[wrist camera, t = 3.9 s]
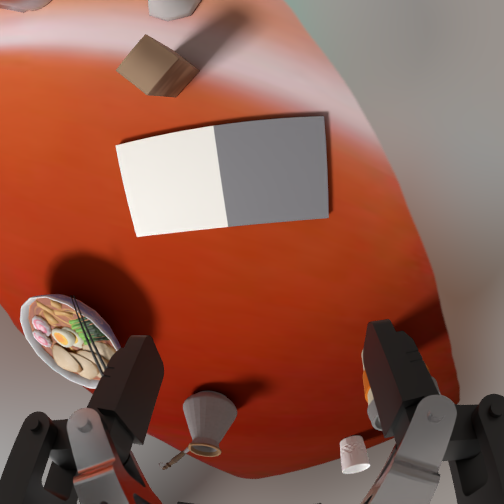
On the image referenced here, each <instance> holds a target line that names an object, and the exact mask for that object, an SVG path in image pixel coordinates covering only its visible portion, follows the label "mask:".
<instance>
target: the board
mask: <svg viewBox="0 0 504 504" xmlns="http://www.w3.org/2000/svg"><path fill="white" fill-rule="evenodd" d="M116 151H117V156H118V161H119V166H120V170H121V175H122V179H123V184H124V188H125V193H126V197H127V201H128V205H129V209H130V213H131V217H132V221H133V224H134V228H135V232H136V235H137V237H140V236H148V235H157V234H165V233H174V232H183V231H192V230H202V229H211V228H221V227H231V226H241V225H251V224H262V223H273V222H284V221H296V220H308V219H320V218H329V213H328V176H327V154H326V138H325V123H324V116H309V117H290V118H276V119H265V120H254V121H245V122H236V123H229V124H221V125H214V126H207V127H201V128H195V129H189V130H183V131H178V132H173V133H168V134H163V135H158V136H153V137H149V138H144V139H140V140H135V141H131V142H127V143H123V144H119V145H116Z"/></svg>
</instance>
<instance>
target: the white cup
mask: <svg viewBox="0 0 504 504" xmlns="http://www.w3.org/2000/svg"><path fill="white" fill-rule="evenodd" d="M340 453H341V464H342V473H344V474H352V473H357V472H360V471H363V470H365V469H367V468H369V467H370V462H369V458H368V454H367V451H366V447H365V445H364V442H363V438H362V436H357V435H355V436H350V437H347V438H345V439H343V440H342V441H341V442H340Z"/></svg>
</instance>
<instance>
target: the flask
mask: <svg viewBox="0 0 504 504" xmlns="http://www.w3.org/2000/svg"><path fill="white" fill-rule="evenodd" d="M200 1H201V0H148V6H149V16H152V17H156V18H159V19H162V20H165V21H171V20H175V19H179V18H183V17H188V16H191V14H192V13H193V11H194V10H195V8H196V7H197V5H198V4H199V3H200Z"/></svg>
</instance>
